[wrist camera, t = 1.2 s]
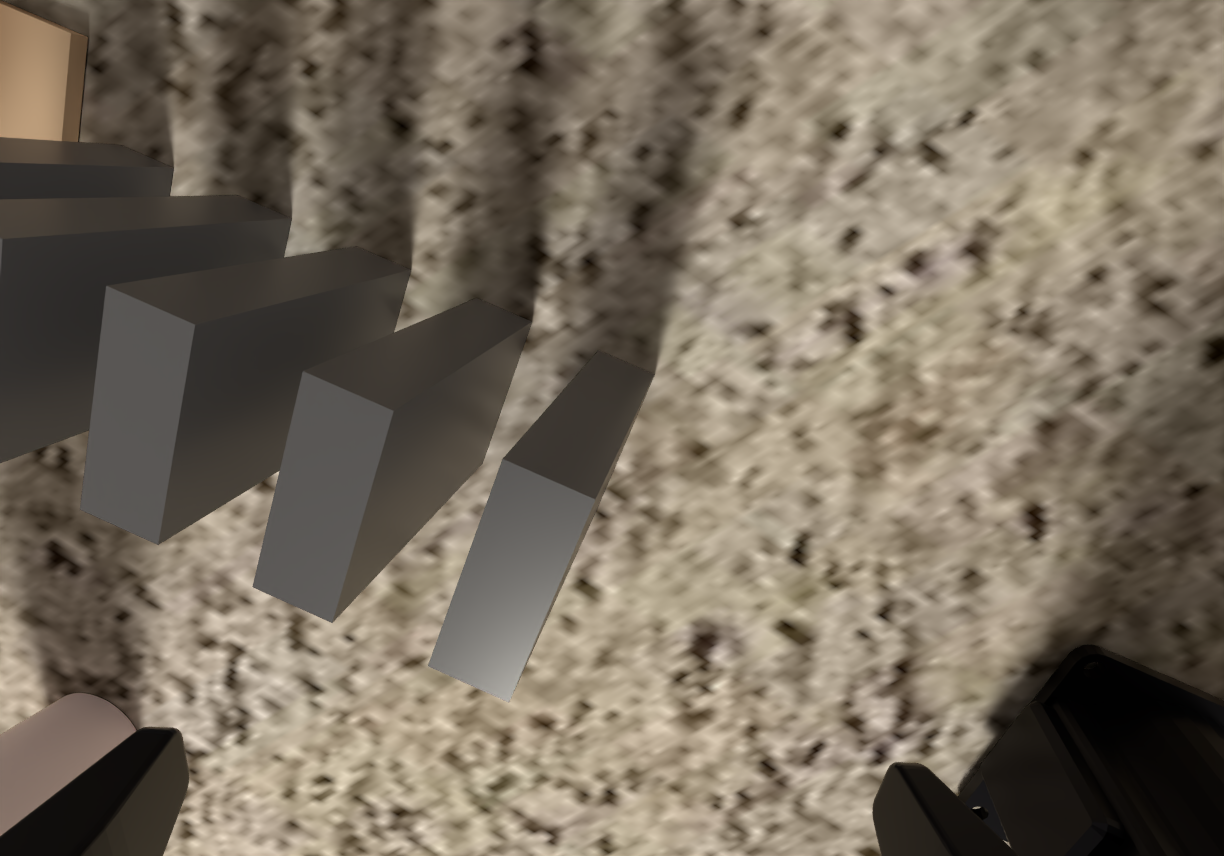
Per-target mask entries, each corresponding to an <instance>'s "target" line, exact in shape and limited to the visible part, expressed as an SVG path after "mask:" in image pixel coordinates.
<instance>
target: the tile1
mask: <svg viewBox="0 0 1224 856" xmlns="http://www.w3.org/2000/svg"><path fill="white" fill-rule="evenodd" d="M654 375H655V374H653V373H650V372H648V371H646V370H643V369H641V368H639V367H636V366H634V365H632V364H629V363H627V362H625V361H622V360H620V359H618V358H615V357H613V356H611V355H608V354H606V353H604V352H601V351H599V350H598V352H597V353H596V354H595V355H594V356H593V357H592V358H591V359H590V361H589V362H588V363H587V364H586V365H585V366H584V367H583V369H582V370H581V371H580V372H579V373H578V374H577V375H576V376H575V378H574V379H573V380H572V381H571V382H570V383H569V384H568V386H567V387H566V388H565V389H564V390H563V391H562V392H561V393H560V395H559V396H558V397H557V398H556V399H555V400H554V401H553V403H552V404H551V405H550V406H549V407H548V408H547V409H546V410H545V412H544V413H543V414H542V415H541V416H540V417H539V418H538V420H537V421H536V422H535V423H534V424H533V425H532V426H531V427H530V429H529V430H528V431H527V432H526V433H525V434H524V435H523V437H522V438H521V439H520V440H519V441H518V442H517V443H516V444H515V446H514V447H513V448H512V449H511V450H510V451H509V452H508V454H507V455H506V456H505V457H504V458H503V460H502V462H501V465H500V468H499V471H498V473H497V476H496V479H495V482H494V484H493V487H492V490H491V493H490V496H489V498H488V501H487V504H486V507H485V509H484V512H483V515H482V518H481V520H480V523H479V526H478V529H477V532H476V534H475V537H474V540H473V543H472V545H471V548H470V551H469V554H468V556H467V559H466V562H465V565H464V567H463V570H462V573H461V576H460V579H459V581H458V584H457V587H456V590H455V592H454V595H453V598H452V601H451V603H450V606H449V609H448V612H447V615H446V617H445V620H444V623H443V626H442V628H441V631H440V634H439V637H438V639H437V642H436V645H435V648H434V650H433V653H432V656H431V659H430V662H429V664H428V666H429V667H431V668H433V669H435V670H438V671H440V672H442V673H444V674H447V675H449V676H451V677H453V678H455V679H458V680H460V681H462V682H464V683H467V684H469V685H471V686H473V687H475V688H478V689H480V690H482V691H484V692H487V693H489V694H491V695H493V696H495V697H498V698H500V699H502V700H504V701H507V702H510V699H511V697H512V695H513V693H514V691H515V688H516V686H517V684H518V682H519V680H520V677H521V675H522V673H523V671H524V669H525V666H526V664H527V662H528V660H529V658H530V655H531V653H532V651H533V649H534V647H535V644H536V642H537V640H538V638H539V636H540V634H541V631H542V629H543V627H544V625H545V623H546V620H547V618H548V616H549V614H550V612H551V609H552V607H553V605H554V603H555V601H556V598H557V596H558V594H559V592H560V590H561V587H562V585H563V583H564V581H565V579H566V576H567V574H568V572H569V570H570V568H571V565H572V563H573V561H574V559H575V557H576V554H577V552H578V550H579V548H580V546H581V543H582V541H583V539H584V537H585V535H586V532H587V530H588V528H589V526H590V524H591V521H592V519H593V517H594V515H595V513H596V510H597V508H598V506H599V503H600V501H601V499H602V496H603V494H604V492H605V489H606V487H607V485H608V482H609V480H610V478H611V475H612V473H613V471H614V468H615V466H616V464H617V461H618V459H619V457H620V454H621V452H622V450H623V447H624V445H625V443H626V440H627V438H628V436H629V433H630V431H631V429H632V426H633V424H634V422H635V419H636V417H637V415H638V412H639V410H640V408H641V405H642V403H643V401H644V398H645V396H646V394H647V392H648V389H649V387H650V385H651V382H652V380H653V378H654Z"/></svg>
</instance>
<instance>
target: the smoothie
mask: <svg viewBox="0 0 1224 856" xmlns="http://www.w3.org/2000/svg"><path fill="white" fill-rule="evenodd" d="M134 732H136V729H135V727H134V726H133V724H132V723H131V721H130V720H129V719H128V718H127V717H126V715H125V714H124V713H123V712H122V711H120V710H119V709H118V708H117V707H115V706H114V705H113V704H111V703H110V702H108V701H106V700H104V699H102V698H100V697H97V696H94V695H91V694H86V693H73V694H69V695H66V696H64V697H62V698H61V699H59V700H57V701H56V702H54V703H52V704H51V705H49V706H47V707H46V708H44V709H42V710H41V711H39V712H37V713H36V714H34V715H32V716H30V717H29V718H27V719H25V720H24V721H22V722H20V723H19V724H17V725H15V726H14V727H12V728H10V729H9V730H7V731H5V732H4V733H2V734H0V836H1V835H2V834H3V833H5V832H6V831H7V830H9V829H10V828H11V827H12V826H14V825H15V824H16V823H18V822H19V821H20V820H21V819H23V818H24V817H25V816H27V815H28V814H29V813H31V812H32V811H33V810H34V809H36V808H37V807H38V806H40V805H41V804H42V803H43V802H45V801H46V800H47V799H49V798H50V797H51V796H53V795H54V794H55V793H56V792H58V791H59V790H60V789H62V788H63V787H64V786H65V785H67V784H68V783H69V782H71V781H72V780H73V779H75V778H76V777H77V776H78V775H80V774H81V773H82V772H84V771H85V770H86V769H87V768H89V767H90V766H91V765H93V764H94V763H95V762H97V761H98V760H99V759H100V758H102V757H103V756H104V755H106V754H107V753H108V752H109V751H111V750H112V749H113V748H115V747H116V746H117V745H119V744H120V743H121V742H122V741H124V740H125V739H126V738H128V737H129V736H130V735H131V734H133V733H134Z"/></svg>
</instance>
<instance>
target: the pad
mask: <svg viewBox="0 0 1224 856" xmlns="http://www.w3.org/2000/svg"><path fill="white" fill-rule="evenodd" d="M87 42H88V37H86V36H84V35H82V34H79V33H77V32H75V31H72V30H70V29H67V28H65V27H63V26H60V25H58V24H56V23H53V22H51V21H49V20H46V19H44V18H42V17H39V16H37V15H35V14H32V13H30V12H27V11H25V10H23V9H20V8H18V7H16V6H13V5H11V4H9V3H6V2H4V1H2V0H0V137H7V138H23V139H38V140H53V141H69V142H78V136H79V125H80V115H81V104H82V94H83V84H84V73H85V63H86V52H87Z"/></svg>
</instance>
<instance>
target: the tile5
mask: <svg viewBox="0 0 1224 856" xmlns="http://www.w3.org/2000/svg"><path fill="white" fill-rule="evenodd" d="M173 169H174V168H173V167H171V166H168V165H166V164H164V163H161V162H159V161H157V160H154V159H152V158H150V157H147V156H145V155H143V154H140V153H138V152H136V151H133V150H131V149H129V148H126V147H124V146H122V145H115V144H99V143H84V142H69V141H53V140H38V139H23V138H7V137H0V199H53V198H110V197H167V196H170V190H171V183H172V176H173Z"/></svg>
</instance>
